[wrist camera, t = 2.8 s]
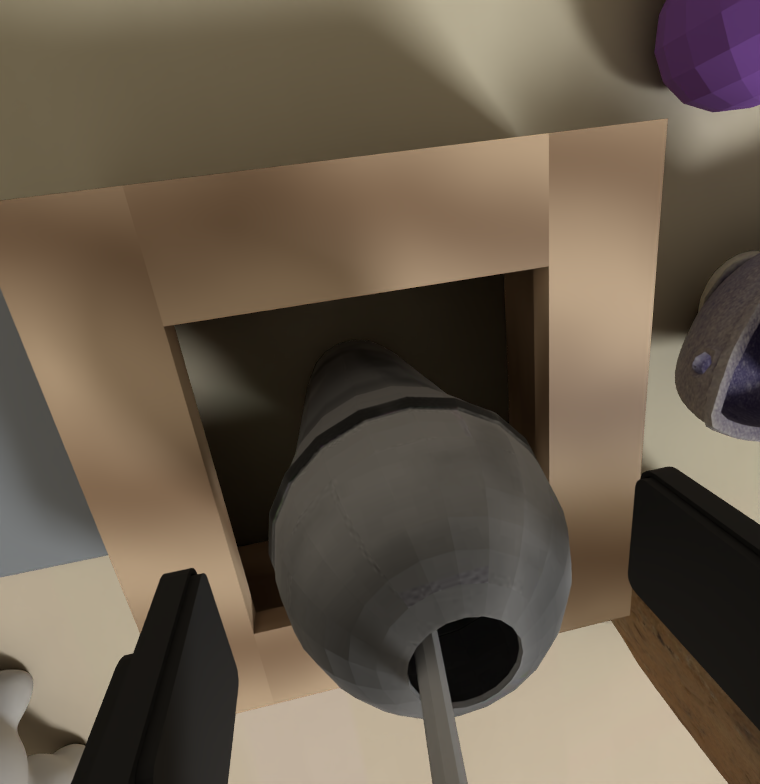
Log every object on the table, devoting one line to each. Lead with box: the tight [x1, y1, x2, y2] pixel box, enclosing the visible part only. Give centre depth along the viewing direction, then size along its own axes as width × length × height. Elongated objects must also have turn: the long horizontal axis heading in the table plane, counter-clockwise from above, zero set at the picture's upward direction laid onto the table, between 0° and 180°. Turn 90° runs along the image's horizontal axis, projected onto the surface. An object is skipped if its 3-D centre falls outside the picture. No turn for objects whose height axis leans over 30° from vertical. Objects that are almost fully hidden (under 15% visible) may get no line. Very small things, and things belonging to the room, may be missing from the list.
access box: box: [0, 118, 668, 714], centre depth 19 cm, size 18×18×8 cm
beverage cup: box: [269, 340, 572, 784], centre depth 14 cm, size 7×7×20 cm
